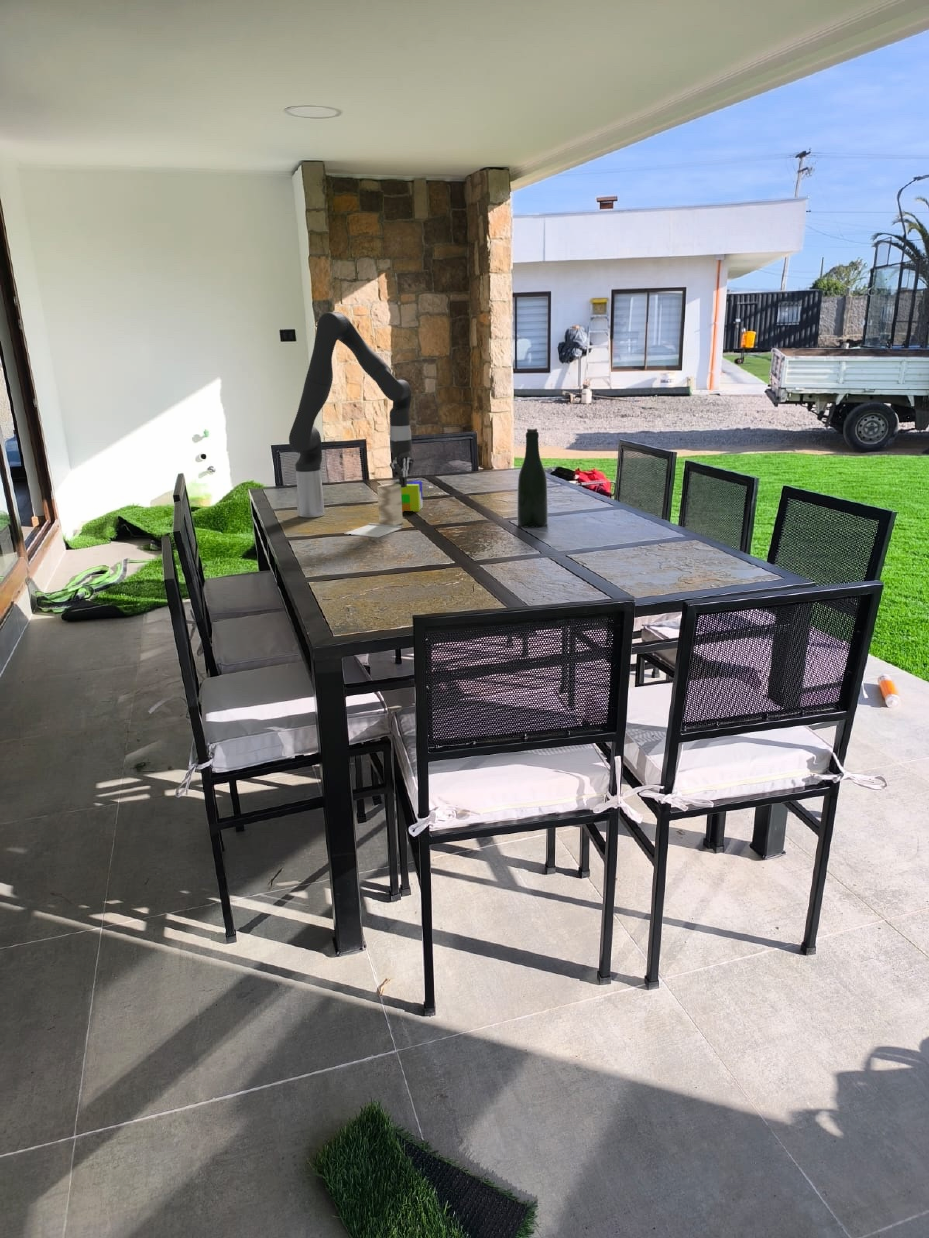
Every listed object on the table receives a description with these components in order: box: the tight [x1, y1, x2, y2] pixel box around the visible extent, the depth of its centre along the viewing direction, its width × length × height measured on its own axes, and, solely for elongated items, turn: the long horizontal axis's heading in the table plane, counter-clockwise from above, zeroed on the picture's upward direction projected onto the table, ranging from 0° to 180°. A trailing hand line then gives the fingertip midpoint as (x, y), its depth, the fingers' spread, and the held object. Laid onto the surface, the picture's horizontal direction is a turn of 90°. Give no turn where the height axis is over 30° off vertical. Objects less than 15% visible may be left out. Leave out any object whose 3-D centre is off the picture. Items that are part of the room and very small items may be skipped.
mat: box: [343, 522, 403, 538], centre depth 289 cm, size 14×15×1 cm
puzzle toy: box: [393, 480, 424, 513], centre depth 324 cm, size 10×10×10 cm
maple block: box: [376, 483, 404, 526], centre depth 296 cm, size 6×6×14 cm
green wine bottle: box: [516, 427, 548, 528], centre depth 286 cm, size 10×10×33 cm
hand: (403, 487), depth 302 cm, fingers closed
